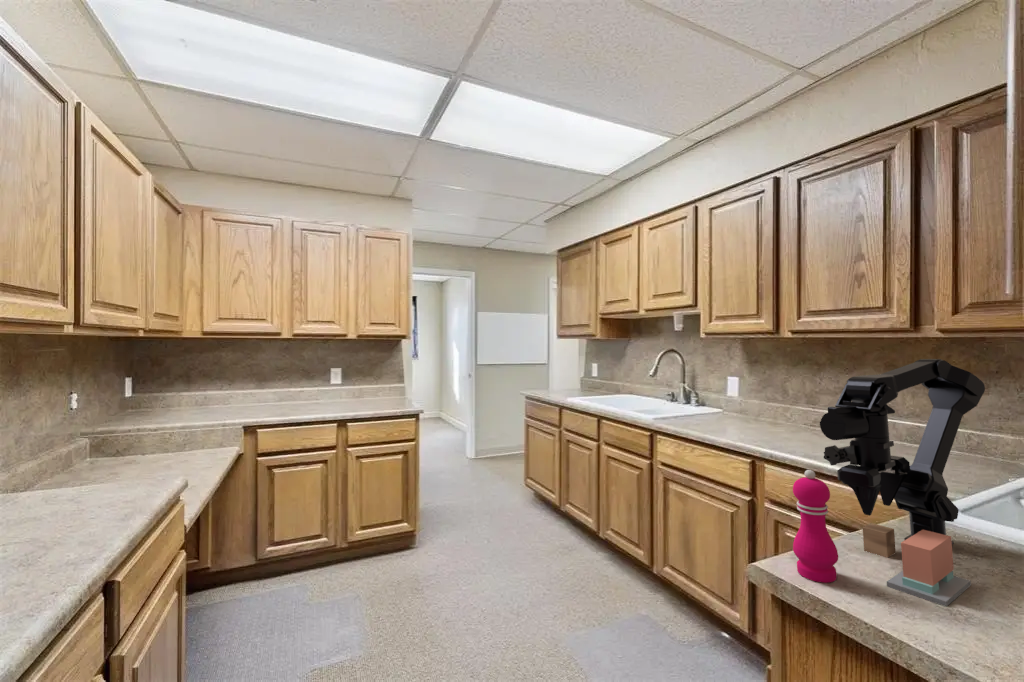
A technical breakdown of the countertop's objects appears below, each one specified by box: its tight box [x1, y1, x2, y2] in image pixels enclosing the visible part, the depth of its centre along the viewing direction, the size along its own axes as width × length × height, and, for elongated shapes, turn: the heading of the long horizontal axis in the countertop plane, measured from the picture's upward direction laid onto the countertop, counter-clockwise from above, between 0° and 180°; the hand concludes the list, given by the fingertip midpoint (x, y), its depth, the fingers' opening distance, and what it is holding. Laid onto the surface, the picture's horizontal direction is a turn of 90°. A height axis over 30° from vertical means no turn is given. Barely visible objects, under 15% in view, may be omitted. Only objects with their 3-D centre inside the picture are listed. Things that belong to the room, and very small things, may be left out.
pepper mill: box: [792, 469, 839, 584], centre depth 85 cm, size 7×7×20 cm
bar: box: [900, 530, 955, 586], centre depth 80 cm, size 10×4×6 cm, turn 120°
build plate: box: [886, 570, 972, 607], centre depth 80 cm, size 12×8×2 cm, turn 120°
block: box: [862, 522, 896, 559], centre depth 93 cm, size 4×4×5 cm
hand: (877, 510), depth 94 cm, fingers open, 9 cm apart
